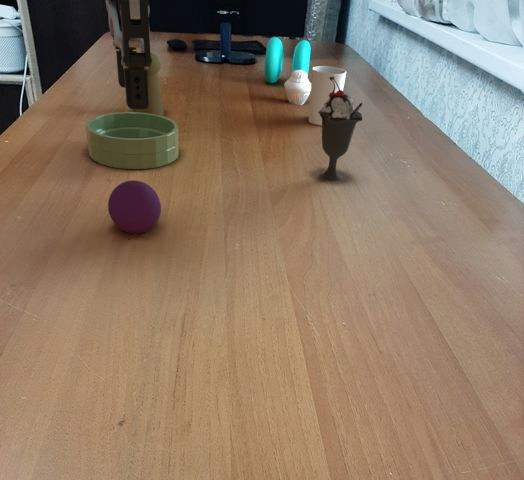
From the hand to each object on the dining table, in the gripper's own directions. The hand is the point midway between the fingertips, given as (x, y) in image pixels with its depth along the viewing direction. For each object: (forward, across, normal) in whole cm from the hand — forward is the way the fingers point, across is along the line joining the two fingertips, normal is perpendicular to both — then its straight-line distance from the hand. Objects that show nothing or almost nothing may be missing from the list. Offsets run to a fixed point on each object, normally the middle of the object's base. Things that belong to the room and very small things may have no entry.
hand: (133, 97), depth 63 cm
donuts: (+16, -74, +44) cm, 88 cm away
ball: (+13, 0, -1) cm, 13 cm away
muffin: (+16, -58, +41) cm, 73 cm away
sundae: (+16, -14, +32) cm, 38 cm away
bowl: (+16, -27, +2) cm, 32 cm away
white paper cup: (+16, -43, +42) cm, 62 cm away
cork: (+16, -50, +8) cm, 53 cm away
